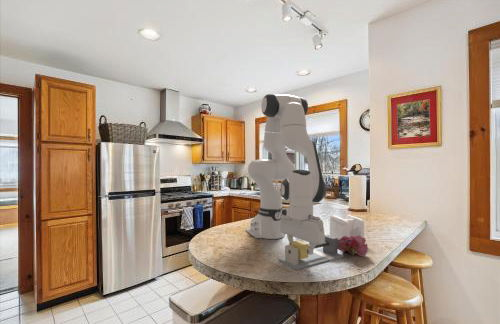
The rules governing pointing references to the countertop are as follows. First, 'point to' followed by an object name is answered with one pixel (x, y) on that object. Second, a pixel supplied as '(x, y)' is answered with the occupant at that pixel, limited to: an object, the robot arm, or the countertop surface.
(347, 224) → the cable organizer
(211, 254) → the countertop surface
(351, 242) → the flower
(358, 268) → the countertop surface
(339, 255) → the grey slider rail toy
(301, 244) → the sleeve
